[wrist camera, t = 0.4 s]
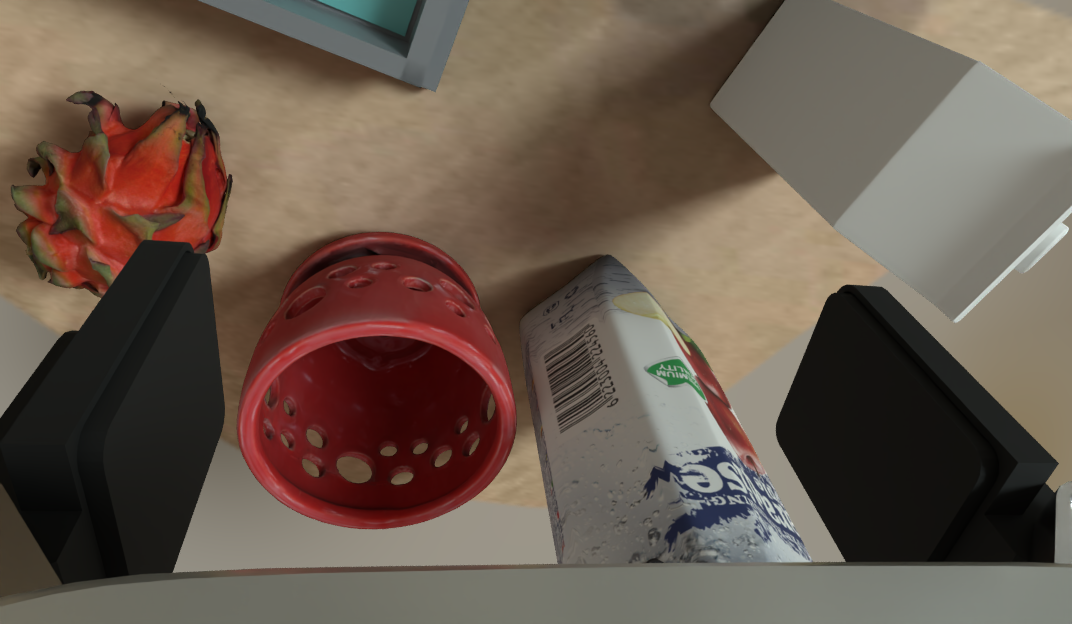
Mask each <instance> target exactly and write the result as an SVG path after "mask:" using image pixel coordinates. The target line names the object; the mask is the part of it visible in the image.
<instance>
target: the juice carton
mask: <svg viewBox="0 0 1072 624" xmlns="http://www.w3.org/2000/svg"><path fill="white" fill-rule="evenodd" d="M519 329H520V340H521V349H522V358H523V366H524V372H525V379H526V385H527V391H528V396H529V402H530V408H531V414H532V419H533V425H534V431H535V436H536V442H537V448H538V454H539V459H540V465H541V471H542V476H543V482H544V488H545V493H546V499H547V505H548V511H549V516H550V521H551V528H552V533H553V538H554V545H555V550H556V556H557V562H558V564H616V563H740V562H813V561H812V559H811V558H810V555H809V554H808V552H807V550H806V548H805V546H804V544H803V542H802V540H801V538H800V536H799V534H798V532H797V531H796V529H795V527H794V525H793V523H792V521H791V519H790V517H789V515H788V513H787V511H786V510H785V508H784V506H783V504H782V502H781V500H780V498H779V496H778V494H777V492H776V490H775V489H774V487H773V485H772V483H771V481H770V479H769V477H768V475H767V473H766V471H765V470H764V468H763V466H762V464H761V462H760V461H759V458H758V456H757V454H756V452H755V451H754V449H753V447H752V445H751V443H750V441H749V439H748V437H747V435H746V433H745V432H744V430H743V428H742V426H741V424H740V422H739V420H738V418H737V416H736V414H735V413H734V411H733V409H732V407H731V405H730V403H729V401H728V399H727V398H726V396H725V394H724V392H723V390H722V388H721V386H720V384H719V382H718V380H717V379H716V377H715V375H714V373H713V371H712V369H711V367H710V366H709V364H708V362H707V360H706V358H705V357H704V355H703V353H702V352H701V350H700V349H699V347H698V346H697V345H696V344H695V343H694V341H693V340H692V339H691V338H690V337H689V336H688V335H687V334H686V333H685V332H684V331H683V330H682V329H681V328H680V327H679V326H678V325H677V324H676V323H675V322H674V321H672V320H671V319H670V318H669V317H668V315H667V314H666V313H665V312H664V310H663V309H662V307H661V306H660V304H659V303H658V302H657V300H656V299H655V298H654V297H653V295H652V294H651V293H650V292H649V291H648V290H647V289H646V287H645V286H644V285H643V284H642V283H641V282H640V281H639V280H638V279H637V278H636V277H635V276H634V275H633V274H632V273H631V272H630V271H629V270H628V269H627V268H625V267H624V266H623V265H622V264H621V263H620V262H619V261H618V260H617V259H615V258H614V257H613V256H611V255H605V256H603V257H601V258H600V259H598V260H597V261H596V262H594V263H593V264H592V265H590V266H589V267H588V268H587V269H585V270H584V271H583V272H582V273H580V274H579V275H578V276H577V277H575V278H574V279H573V280H572V281H571V282H569V283H568V284H567V285H565V286H564V287H563V288H562V289H560V290H559V291H557V292H556V293H555V294H553V295H552V296H550V297H549V298H547V299H546V300H545V301H543V302H542V303H540V304H539V305H538V306H536V307H535V308H533V309H532V310H531V311H530V312H528V313H527V314H526V315H525V316H524V317H523V318H522V319H521V320H520V324H519Z"/></svg>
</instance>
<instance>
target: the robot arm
mask: <svg viewBox="0 0 1072 624" xmlns="http://www.w3.org/2000/svg"><path fill="white" fill-rule="evenodd" d="M224 416H225V403H224V394H223V385H222V376H221V367H220V358H219V349H218V340H217V331H216V322H215V313H214V304H213V295H212V286H211V277H210V268H209V261H208V258H207V256H206V254H200V253H194V249H193V247H192V245H191V244H190V243H189V242H174V241H159V240H143V241H142V242H141V243H140V244H139V246H138V247H137V249H136V250H135V252H134V253H133V254H132V256H131V257H130V259H129V260H128V262H127V263H126V264H125V266H124V267H123V269H122V270H121V271H120V273H119V274H118V276H117V277H116V279H115V280H114V281H113V283H112V284H111V286H110V287H109V288H108V290H107V291H106V293H105V294H104V296H103V297H102V298H101V300H100V301H99V303H98V304H97V306H96V307H95V308H94V310H93V311H92V313H91V314H90V315H89V317H88V318H87V320H86V321H85V323H84V324H83V325H82V327H81V328H80V330H79V331H69V332H65V333H64V334H63V335H62V336H61V337H60V338H59V339H58V340H57V341H56V343H55V344H54V346H53V347H52V348H51V350H50V351H49V352H48V354H47V355H46V357H45V358H44V359H43V361H42V362H41V363H40V365H39V366H38V368H37V369H36V370H35V372H34V373H33V374H32V376H31V377H30V378H29V380H28V381H27V382H26V384H25V385H24V387H23V388H22V389H21V391H20V392H19V393H18V395H17V396H16V397H15V399H14V400H13V402H12V403H11V404H10V406H9V407H8V408H7V410H6V411H5V412H4V414H3V415H2V417H1V418H0V624H1072V481H1070V482H1067V483H1065V484H1063V485H1061V486H1059V488H1058V489H1057V491H1056V492H1055V493H1054V492H1053V491H1052V490H1051V489H1050V488H1049V486H1048V485H1046V483H1045V482H1046V481H1047V480H1048V478H1049V477H1050V475H1051V474H1052V472H1053V471H1054V470H1055V468H1056V467H1057V465H1058V464H1059V463H1058V462H1057V461H1056V460H1055V459H1054V458H1053V457H1052V456H1051V455H1050V454H1049V453H1048V452H1047V451H1046V450H1045V449H1044V448H1043V447H1042V446H1041V445H1040V444H1039V443H1038V442H1037V441H1036V440H1035V439H1034V438H1033V437H1032V436H1031V435H1030V434H1029V433H1028V432H1027V431H1026V430H1025V429H1024V428H1023V427H1022V426H1021V425H1020V424H1019V423H1018V422H1017V421H1016V420H1015V419H1014V418H1013V417H1012V416H1011V415H1010V414H1009V413H1008V412H1007V411H1006V410H1005V409H1004V408H1003V407H1002V406H1001V405H1000V404H999V403H998V402H997V401H996V400H995V399H994V398H993V397H992V396H991V395H990V394H989V393H988V392H987V391H986V390H985V389H984V388H983V387H982V386H981V385H980V384H979V383H978V382H977V381H976V380H975V379H974V378H973V376H972V375H971V374H969V372H967V370H966V369H965V368H964V367H963V366H962V365H961V364H960V363H959V362H958V361H957V360H956V359H955V358H954V357H952V355H951V354H949V352H948V351H947V350H946V349H945V348H944V347H943V346H942V345H941V344H940V343H939V342H938V341H937V340H936V339H935V338H934V337H933V336H932V335H931V334H930V333H929V332H928V331H927V330H926V329H925V328H924V327H923V326H922V325H921V324H920V323H919V322H918V321H917V320H916V319H915V318H914V317H913V316H912V315H911V314H910V313H909V312H908V311H907V310H906V309H905V308H904V307H903V306H902V305H901V304H900V303H899V302H898V301H897V300H896V299H895V298H894V297H893V296H892V295H891V294H890V293H889V292H888V291H887V290H886V289H884V288H883V287H876V286H861V285H845V286H842V287H841V288H840V289H839V290H838V291H837V293H833V294H831V295H830V296H829V297H828V299H827V300H826V302H825V305H824V307H823V310H822V312H821V315H820V317H819V319H818V322H817V324H816V327H815V329H814V332H813V334H812V337H811V339H810V342H809V344H808V346H807V349H806V352H805V354H804V356H803V359H802V361H801V363H800V366H799V369H798V371H797V373H796V376H795V378H794V381H793V383H792V385H791V388H790V390H789V393H788V395H787V398H786V400H785V403H784V405H783V408H782V410H781V412H780V415H779V417H778V420H777V423H776V436H777V440H778V442H779V445H780V447H781V448H782V450H783V452H784V454H785V455H786V457H787V459H788V461H789V462H790V464H791V466H792V467H793V469H794V471H795V473H796V475H797V476H798V478H799V480H800V482H801V483H802V485H803V487H804V489H805V491H806V492H807V494H808V496H809V498H810V499H811V501H812V503H813V505H814V506H815V508H816V510H817V512H818V513H819V515H820V517H821V518H822V520H823V522H824V524H825V526H826V527H827V529H828V531H829V533H830V534H831V536H832V538H833V540H834V542H835V543H836V545H837V547H838V549H839V550H840V552H841V554H842V556H843V557H844V559H845V561H846V562H740V563H616V564H524V565H456V566H454V565H452V566H384V567H383V566H380V567H324V568H323V567H322V568H321V567H320V568H272V569H271V568H265V569H242V570H222V571H202V572H179V573H173V570H174V567H175V564H176V561H177V558H178V555H179V552H180V550H181V547H182V544H183V541H184V538H185V535H186V532H187V530H188V527H189V524H190V521H191V518H192V515H193V512H194V509H195V507H196V504H197V501H198V498H199V495H200V492H201V489H202V486H203V483H204V481H205V478H206V475H207V472H208V469H209V466H210V463H211V461H212V458H213V455H214V452H215V449H216V446H217V443H218V441H219V438H220V435H221V432H222V428H223V424H224Z"/></svg>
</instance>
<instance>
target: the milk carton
mask: <svg viewBox="0 0 1072 624" xmlns="http://www.w3.org/2000/svg"><path fill="white" fill-rule="evenodd" d="M710 107H711V109H712V110H713V111H714V112H715V113H716V114H717V115H718V116H720V117H721V118H722V119H723V120H724V121H725V122H726V123H727V124H728V125H729V126H730V127H731V128H732V129H733V130H734V131H735V132H736V133H737V134H738V135H739V136H740V137H741V138H742V139H743V140H744V141H745V142H746V143H747V144H748V145H749V146H750V147H751V148H752V149H753V150H754V151H755V152H756V153H757V154H758V155H759V156H760V157H761V158H763V159H764V160H765V161H766V162H767V163H768V164H769V165H770V166H771V167H772V168H773V169H774V170H775V171H776V172H777V173H778V174H779V175H780V176H781V177H782V178H783V179H784V180H785V181H786V182H787V183H788V184H789V185H790V186H791V187H792V188H793V189H794V190H795V191H796V192H797V193H798V194H799V195H800V196H801V197H802V198H803V199H804V200H806V201H807V202H808V203H809V204H810V205H811V206H812V207H813V208H814V209H815V210H816V211H817V212H818V213H819V214H820V215H821V216H822V217H823V218H824V219H825V220H826V221H827V222H828V223H829V224H830V225H831V226H832V227H833V228H834V229H835V230H836V231H838V232H839V233H840V234H842V235H843V236H844V237H845V238H847V239H848V240H849V241H851V242H852V243H853V244H855V245H856V246H857V247H859V248H860V249H861V250H863V251H864V252H865V253H867V254H868V255H869V256H871V257H872V258H873V259H874V260H876V261H877V262H878V263H880V264H881V265H882V266H884V267H885V268H886V269H888V270H889V271H890V272H892V273H893V274H894V275H896V276H897V277H898V278H900V279H901V280H902V281H904V282H905V283H906V284H908V285H909V286H910V287H912V288H913V289H914V290H915V291H917V292H918V293H919V294H921V295H922V296H923V297H925V298H926V299H927V300H929V301H930V302H931V303H933V304H934V305H935V306H936V307H938V309H940V310H941V311H942V312H943V313H944V314H945V315H946V316H947V317H949V319H950V320H951V321H953V322H954V323H956V322H959V321H960V320H961V319H962V318H963V317H964V316H965V315H966V314H967V313H968V312H969V311H970V310H971V309H972V308H973V307H974V306H975V305H976V304H978V303H979V302H980V301H981V300H982V299H983V298H984V297H985V296H986V295H987V294H988V293H989V292H990V291H991V290H992V289H993V288H994V287H995V286H996V285H997V284H998V283H999V282H1000V281H1001V280H1002V279H1003V278H1004V277H1005V276H1006V275H1007V274H1009V273H1010V272H1011V271H1012V270H1013V269H1016V270H1017V271H1019V272H1020V273H1024V272H1027V271H1028V270H1029V269H1030V268H1031V267H1032V266H1033V265H1034V264H1035V263H1037V262H1038V261H1039V260H1040V259H1041V258H1042V257H1043V256H1044V255H1045V254H1046V253H1047V252H1048V251H1049V250H1050V249H1051V248H1052V247H1053V246H1054V245H1055V244H1056V243H1057V242H1058V241H1059V240H1060V239H1062V237H1064V236H1065V235H1066V234H1067V232H1068V230H1069V228H1068V227H1067V226H1066V225H1064V224H1063V223H1061V222H1062V221H1063V220H1064V219H1065V218H1067V217H1068V216H1069V215H1070V214H1071V213H1072V120H1070V119H1069V118H1067V117H1066V116H1064V115H1062V114H1061V113H1059V112H1058V111H1056V110H1055V109H1053V108H1052V107H1050V106H1049V105H1047V104H1045V103H1044V102H1042V101H1041V100H1039V99H1038V98H1036V97H1035V96H1033V95H1031V94H1030V93H1028V92H1027V91H1025V90H1024V89H1022V88H1021V87H1019V86H1018V85H1016V84H1014V83H1013V82H1011V81H1010V80H1008V79H1007V78H1005V77H1004V76H1002V75H1001V74H999V73H997V72H996V71H994V70H993V69H991V68H990V67H988V66H987V65H985V64H984V63H982V62H980V61H976V60H974V59H972V58H969V57H967V56H964V55H962V54H960V53H957V52H955V51H952V50H950V49H947V48H945V47H943V46H940V45H938V44H935V43H933V42H931V41H928V40H926V39H923V38H921V37H919V36H916V35H914V34H911V33H909V32H906V31H904V30H902V29H899V28H897V27H894V26H892V25H890V24H887V23H885V22H882V21H880V20H878V19H875V18H873V17H870V16H868V15H866V14H863V13H861V12H858V11H856V10H853V9H851V8H849V7H846V6H844V5H841V4H839V3H837V2H834V1H832V0H785V1H784V2H783V4H782V5H781V7H780V8H779V9H778V11H777V12H776V13H775V15H774V16H773V18H772V19H771V20H770V22H769V23H768V24H767V26H766V27H765V28H764V30H763V31H762V33H761V34H760V35H759V37H758V38H757V39H756V41H755V42H754V44H753V45H752V46H751V48H750V49H749V50H748V52H747V53H746V55H745V56H744V57H743V59H742V60H741V61H740V63H739V64H738V66H737V67H736V68H735V70H734V71H733V72H732V74H731V75H730V76H729V78H728V79H727V81H726V82H725V83H724V85H723V86H722V87H721V89H720V90H719V92H718V93H717V94H716V96H715V97H714V99H713V100H712V102H711V103H710Z"/></svg>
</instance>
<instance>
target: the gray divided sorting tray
mask: <svg viewBox="0 0 1072 624" xmlns="http://www.w3.org/2000/svg"><path fill="white" fill-rule="evenodd" d="M198 1H201V2H203V3H206V4H209V5H211V6H214V7H216V8H219V9H221V10H224V11H226V12H229V13H231V14H234V15H237V16H239V17H242V18H244V19H247V20H249V21H252V22H254V23H257V24H259V25H262V26H264V27H267V28H270V29H272V30H275V31H277V32H280V33H282V34H285V35H287V36H290V37H292V38H295V39H298V40H300V41H303V42H305V43H308V44H310V45H313V46H315V47H318V48H320V49H323V50H326V51H328V52H331V53H333V54H336V55H338V56H341V57H343V58H346V59H348V60H351V61H353V62H356V63H359V64H361V65H364V66H366V67H369V68H371V69H374V70H376V71H379V72H381V73H384V74H387V75H389V76H392V77H394V78H397V79H399V80H402V81H404V82H407V83H409V84H412V85H415V86H417V87H420V88H421V87H424V88H426V89H429V90H431V91H434V92H436V89H437V87H438V84H439V81H440V78H441V76H442V73H443V70H444V67H445V65H446V62H447V59H448V57H449V54H450V51H451V48H452V46H453V43H454V40H455V37H456V35H457V32H458V29H459V26H460V24H461V21H462V18H463V16H464V13H465V10H466V7H467V5H468V2H469V0H198Z"/></svg>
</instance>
